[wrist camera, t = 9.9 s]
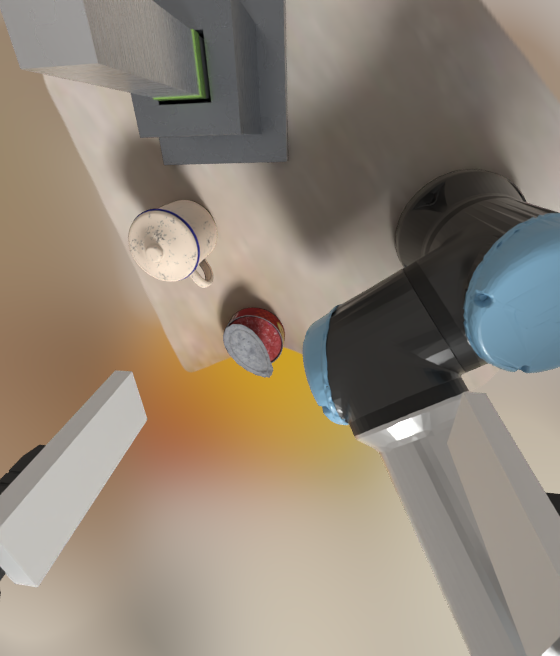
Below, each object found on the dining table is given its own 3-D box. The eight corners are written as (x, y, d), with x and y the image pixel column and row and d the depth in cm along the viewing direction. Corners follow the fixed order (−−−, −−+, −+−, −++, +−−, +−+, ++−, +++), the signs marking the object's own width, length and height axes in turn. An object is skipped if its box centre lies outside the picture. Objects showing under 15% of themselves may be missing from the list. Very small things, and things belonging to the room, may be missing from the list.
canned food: (276, 341, 62) (262, 391, 57) (226, 320, 60) (206, 369, 54) (302, 315, 52) (288, 371, 47) (243, 289, 50) (222, 345, 45)
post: (214, 45, 31) (68, -68, 14) (220, 102, 33) (100, 65, 16) (170, 49, 31) (-24, -56, 14) (178, 104, 34) (19, 71, 16)
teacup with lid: (147, 220, 48) (98, 241, 38) (192, 184, 45) (152, 197, 35) (198, 285, 53) (167, 320, 43) (243, 257, 49) (221, 288, 39)
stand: (285, -13, 34) (265, -78, 24) (288, 160, 42) (274, 168, 32) (140, 1, 36) (63, -53, 26) (169, 164, 44) (119, 172, 34)
